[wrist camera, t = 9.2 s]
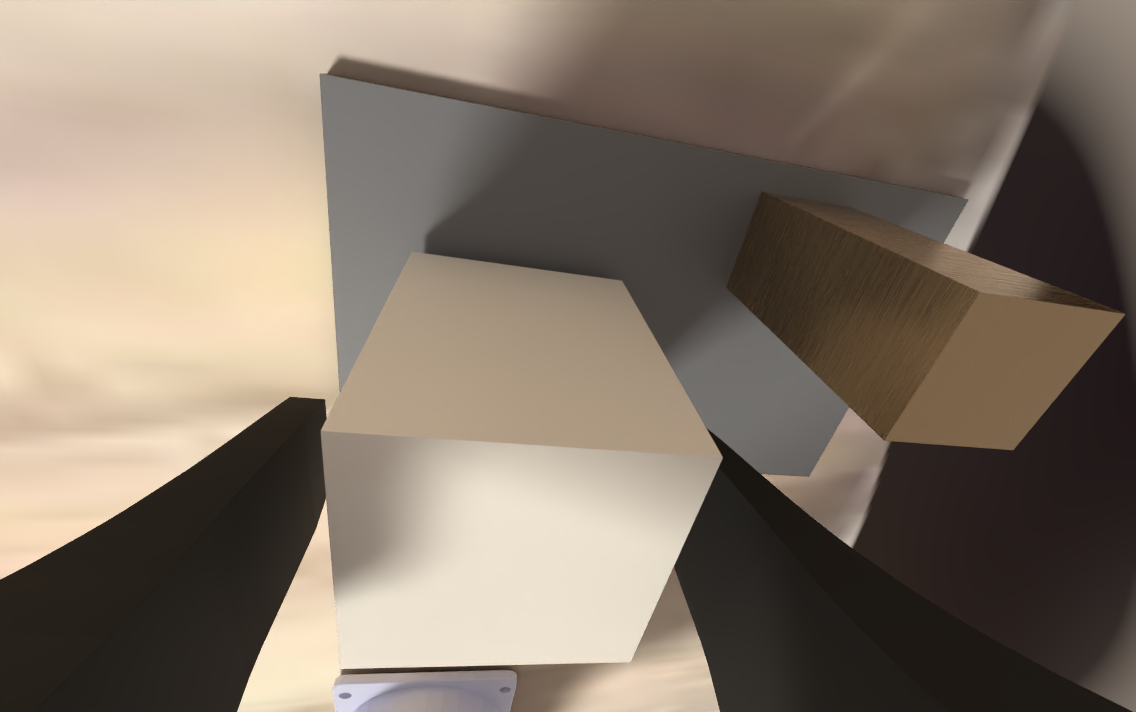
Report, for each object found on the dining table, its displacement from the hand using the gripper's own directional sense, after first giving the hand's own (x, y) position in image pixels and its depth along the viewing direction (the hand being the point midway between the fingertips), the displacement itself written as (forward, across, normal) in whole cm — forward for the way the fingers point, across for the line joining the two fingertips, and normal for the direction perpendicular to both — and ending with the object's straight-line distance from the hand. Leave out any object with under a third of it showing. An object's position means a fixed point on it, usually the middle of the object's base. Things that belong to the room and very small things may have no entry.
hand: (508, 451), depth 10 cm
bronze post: (+4, -7, -4) cm, 9 cm away
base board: (+4, -4, -1) cm, 6 cm away
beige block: (+4, 0, 0) cm, 4 cm away
